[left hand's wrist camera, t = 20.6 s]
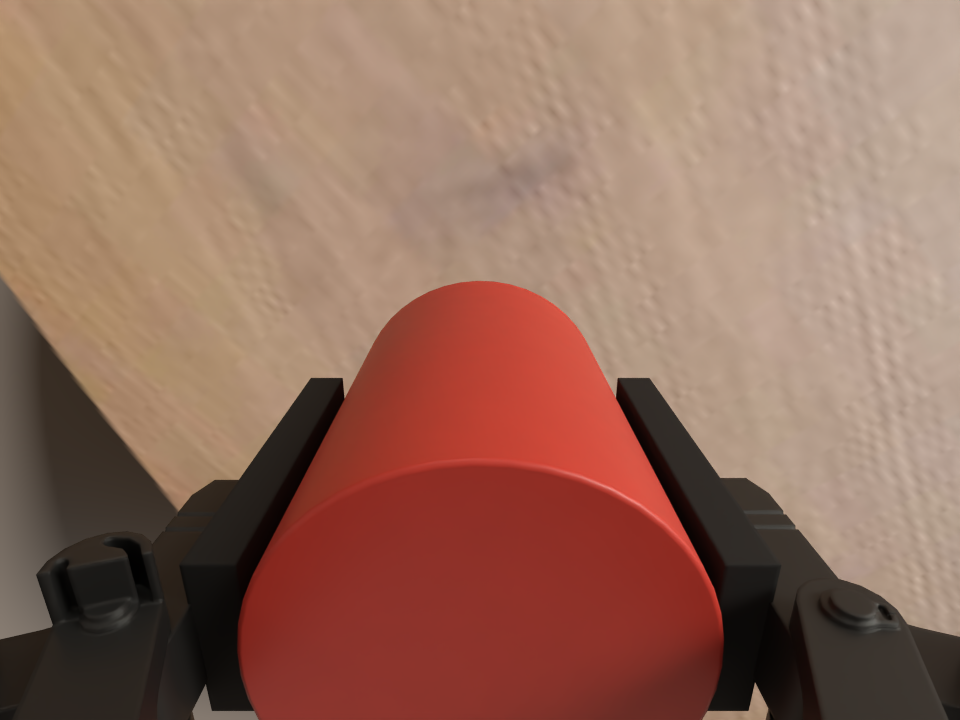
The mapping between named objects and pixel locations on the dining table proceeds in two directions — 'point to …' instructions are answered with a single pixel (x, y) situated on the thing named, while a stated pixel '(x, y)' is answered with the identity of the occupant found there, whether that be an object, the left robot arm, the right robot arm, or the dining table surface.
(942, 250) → the dining table surface
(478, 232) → the dining table surface
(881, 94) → the dining table surface
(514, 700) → the canister
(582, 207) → the dining table surface
